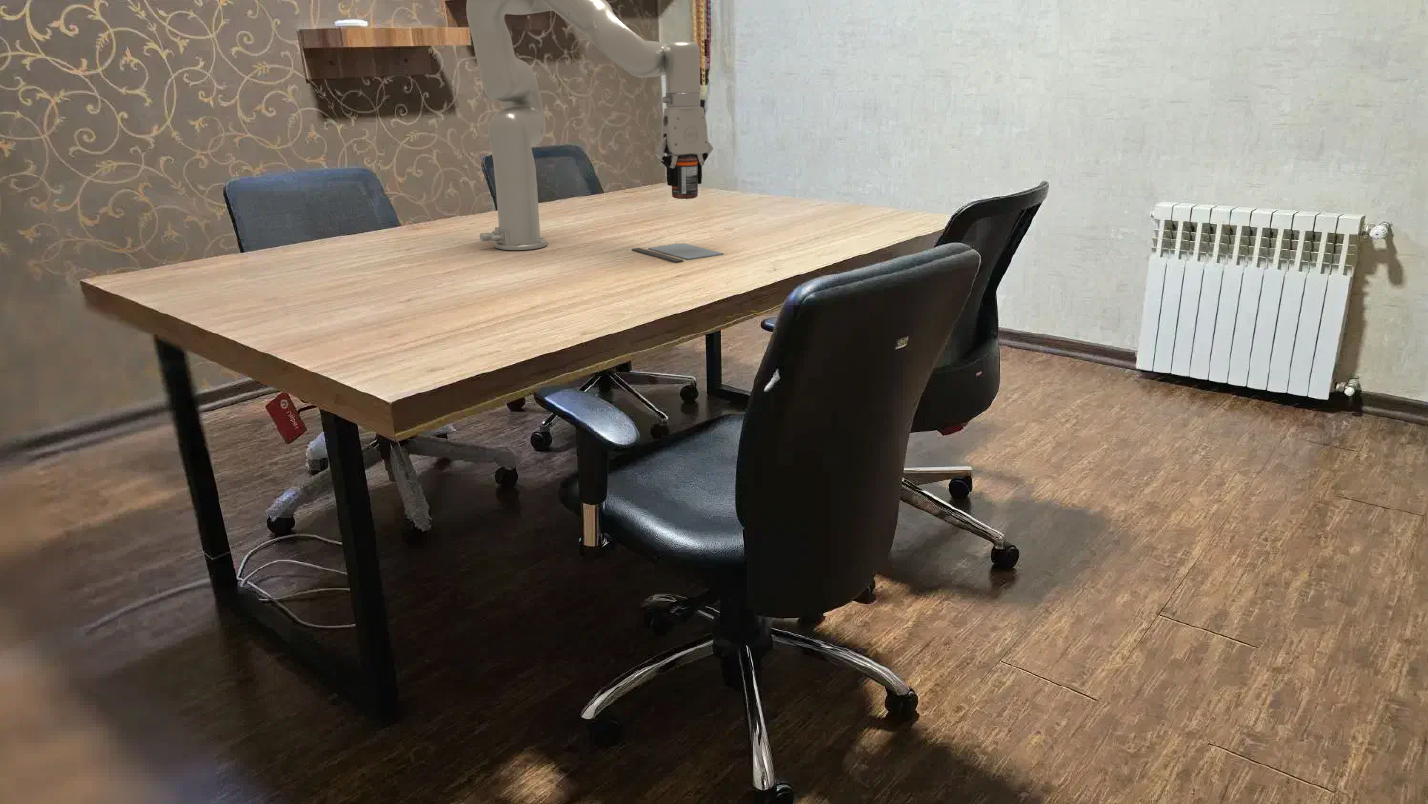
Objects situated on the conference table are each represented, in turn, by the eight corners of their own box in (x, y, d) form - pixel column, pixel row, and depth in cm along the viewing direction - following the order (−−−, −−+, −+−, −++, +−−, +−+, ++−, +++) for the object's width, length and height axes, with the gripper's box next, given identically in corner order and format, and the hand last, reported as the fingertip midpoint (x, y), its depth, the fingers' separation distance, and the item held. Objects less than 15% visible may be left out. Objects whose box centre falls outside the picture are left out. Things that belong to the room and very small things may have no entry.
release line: (675, 263, 212) (675, 261, 212) (631, 250, 226) (631, 248, 226) (683, 261, 213) (683, 260, 213) (638, 249, 227) (638, 247, 227)
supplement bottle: (667, 196, 221) (666, 146, 217) (691, 195, 224) (690, 144, 220) (677, 200, 216) (677, 148, 212) (702, 198, 219) (701, 147, 215)
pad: (687, 260, 215) (687, 258, 215) (648, 249, 227) (648, 247, 227) (723, 254, 221) (723, 253, 221) (682, 244, 233) (682, 243, 233)
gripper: (660, 103, 205) (662, 189, 211) (724, 100, 215) (724, 183, 221) (641, 102, 211) (643, 186, 217) (704, 99, 221) (705, 180, 227)
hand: (684, 183), depth 219 cm, fingers closed on supplement bottle, 6 cm apart
